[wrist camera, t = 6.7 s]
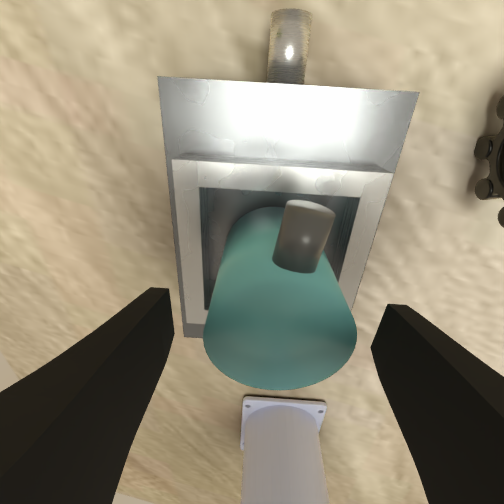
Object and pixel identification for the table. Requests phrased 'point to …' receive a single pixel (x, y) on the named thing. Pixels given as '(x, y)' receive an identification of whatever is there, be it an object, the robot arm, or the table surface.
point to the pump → (279, 301)
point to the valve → (492, 164)
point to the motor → (276, 160)
